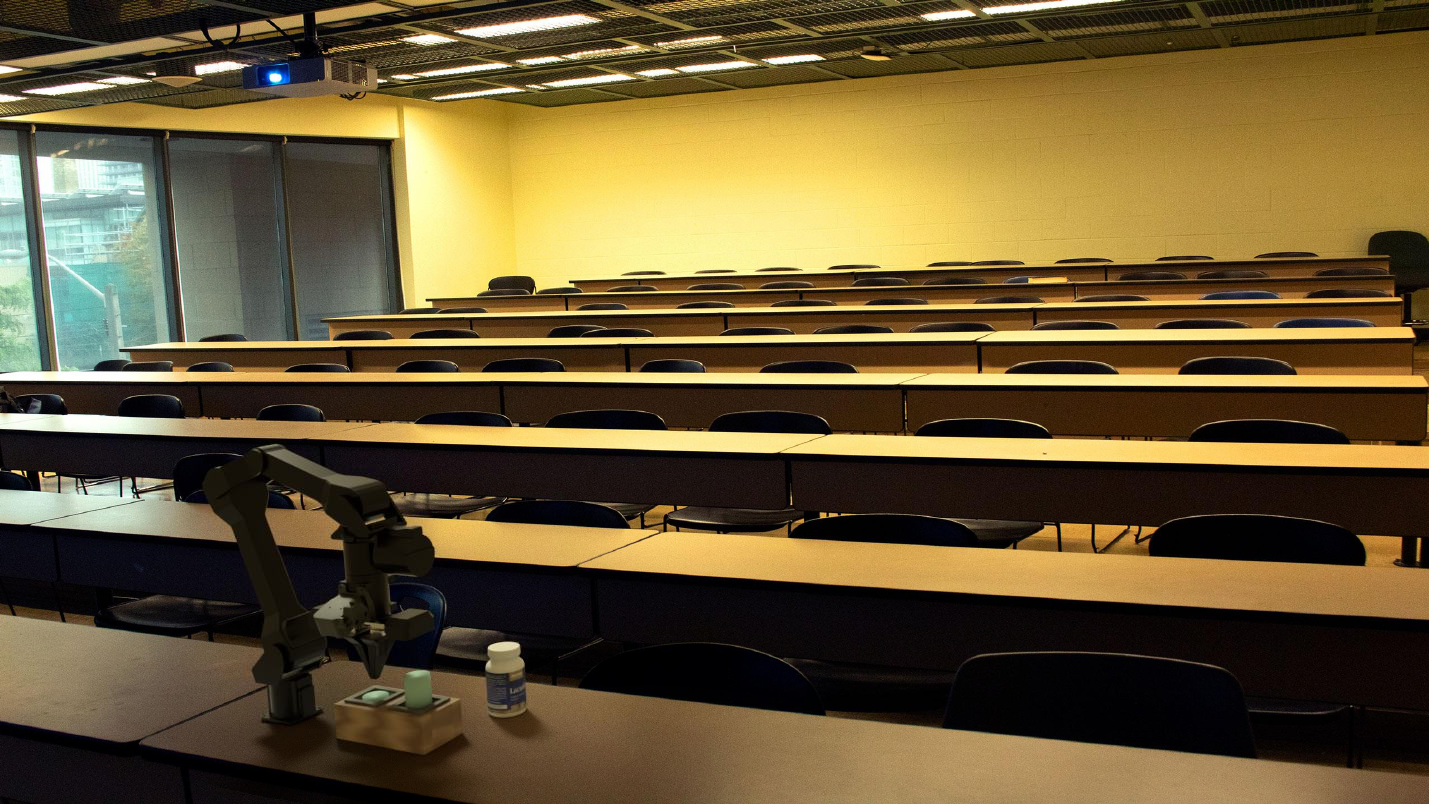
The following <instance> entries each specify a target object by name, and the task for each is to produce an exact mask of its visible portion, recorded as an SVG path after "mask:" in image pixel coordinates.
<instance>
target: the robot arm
mask: <svg viewBox="0 0 1429 804" xmlns="http://www.w3.org/2000/svg"><path fill="white" fill-rule="evenodd" d="M272 482H277V483H278V484H280V485H282V486H284V487H286V488H288V489H291V490H293V491H295V492H296V493H298V494H301V495H303V496H304V497H307V498H309V499H311V500H314V501H316V502H317V503H318V504H320V505H321V507H322V510H323V512H324V514H325V515H326V516H327V517H329V518H330V519H332V520H333V521H334V522H335V523H337V524H338V525H339V526H338V527H337V528H336V530H334V531H333V532H332V533H331V535H330V539H331V540H334V541H342V548H343V549H342V550H343V560H344V561H343V562H344V571H345V572H344V573H345V579H344V580H340V581H339V584H338V586H337V587H338V589H337V590H338V594H337V596H335V597H333V598H332V599H330V600H328V601H327V602H325V603H324V604H321V605H317V606H314V607H312V608H311V610H310V611H309V610H307V609H306V608H305V607H303V606H302V605H301V604H300V603H299V601H298V599H297V596H296V593H295V591H294V587H293V585H292V582H291V580H290V577H289V574H288V572H287V569H286V566H285V564H284V560H283V557H282V556H281V553H280V550H279V547H278V545H277V543H276V540H275V537H274V535H273V531H272V529H271V525H270V523H269V522H268V521H269V520H268V519H267V516H266V512H267V507H268V503H269V497H270V493H269V489H268V485H269V484H270V483H272ZM387 489H388V488H387V486H386V485H385V483H383V482H382V481H380V480H377V479H373V478H369V477H365V476H359V475H357V476H356V475H345V474H341V473H337V472H335V471H334V470H330V469H329V468H327V467H325V466H323V465H320V464H318V463H316V462H313V461H311V460H309V459H308V458H305V457H303V456H301V455H298V454H296V453H294V452H292V451H290V450H288V449H287V447H286V446H285V445H282V444H277V443H274V444H270V445H268V444H267V445H263V446H259V447H257V446H256V447H254V448H252V449H251V450H249V451H248V452H246V453H245V454H243V455H241V456H240V457H238V458H236V459H234V460H232V461H230V462H227V463H225V464H223V465H222V466H217V467H212V468H210V469H209V470H208V471H207V472H206V474H205V477H204V479H203V482H202V490H203V494H204V496H205V499H206V500H207V502H208V503H209V506H210V508H211V510H212V511H213V513H214V515H216V516H218V517H219V518H220V519H221V520H222V521H223V522H224V523H226V524H227V525H228V526H230V529H231V530H232V532H233V536H234V539H235V541H236V543H237V545H238V548H239V552H240V554H241V556H242V559H243V563H244V565H245V568H246V570H247V573H248V576H249V578H250V581H251V583H252V587H253V589H254V591H255V594H256V596H257V600H258V602H259V605H260V608H261V610H262V613H263V616H264V621H263V625H262V630H261V634H260V640H261V645H262V648H263V653H262V655H261V656H260V657H259V659H258V660H257V661H256V662H255V663H254V665H253V666H252V668H251V673H252V675H253V678H254V682H255V683H256V684H260V685H261V684H262V685H266V695H267V707H268V712H267V713H264V714H262V715H261V716H260V720H262V721H265V722H266V721H267V722H272V723H277V724H283V725H288V726H291V725H295V724H297V723H299V722H301V721H303V720H305V719H307V718H310V717H312V716H314V715H316V714H318V713H320V712H322V711H324V706H321V705H317V702H316V690H315V684H314V683H313V674H312V673H310V672H313V671H315V670H316V671H317V670H319V669H321V668H322V666H323V661H324V656H325V653H326V649H327V648H328V641H327V638H326V637H335V638H336V639H345V640H347V641H348V642H349V643H351V644H352V645H353V646H354V647H355V649H356V651H357V653H358V655H359V657H360V660H361V661H362V664H363V666H364V668H365V671H366V672H367V675H368V677H369V678H370V680H378V679H379V678H380V677H381V676H382V672H383V670H384V667H385V665H386V662H387V660H388V656H389V655H390V652H391V650H392V647H393V645H394V643H395V642H396V641H402V642H403V641H404V642H406V641H410V640H413V639H415V638H417V637H420V636H422V635H424V634H427V633H430V632H431V631H434V630H435V617H434V614H432V612H430V610H427V609H425V610H424V609H420V608H418V609H417V608H408V609H405V610H403V611H400V612H397V613H395V614H392V612H394V611H397V610H398V604H397V602H396V601H395V602H394V601H391V596H390V595H391V594H390V593H391V592H390V584H391V583H394V582H395V581H396V578H395V576H396V575H397V576H398V575H399V576H406V577H407V576H408V577H418V578H419V577H423V576H425V575H427V574H428V573H429V572H430V571H431V569H432V567H433V565H434V562H435V556H436V550H435V549H436V547H435V546H434V545H433V542H432V540H431V539H430V538H429V536H427V535H425V534H424V532H423V530H424V529H423V526H422V525H413V526H407V525H408V521H407V520H406V518H405V517H404V515H403V513H402V512H401V510H400V509H399V508H398V506H397V504H396V502H395V501H394V500H393V498H392V496H391V495H390V493H389V492H388V490H387Z"/></svg>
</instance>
